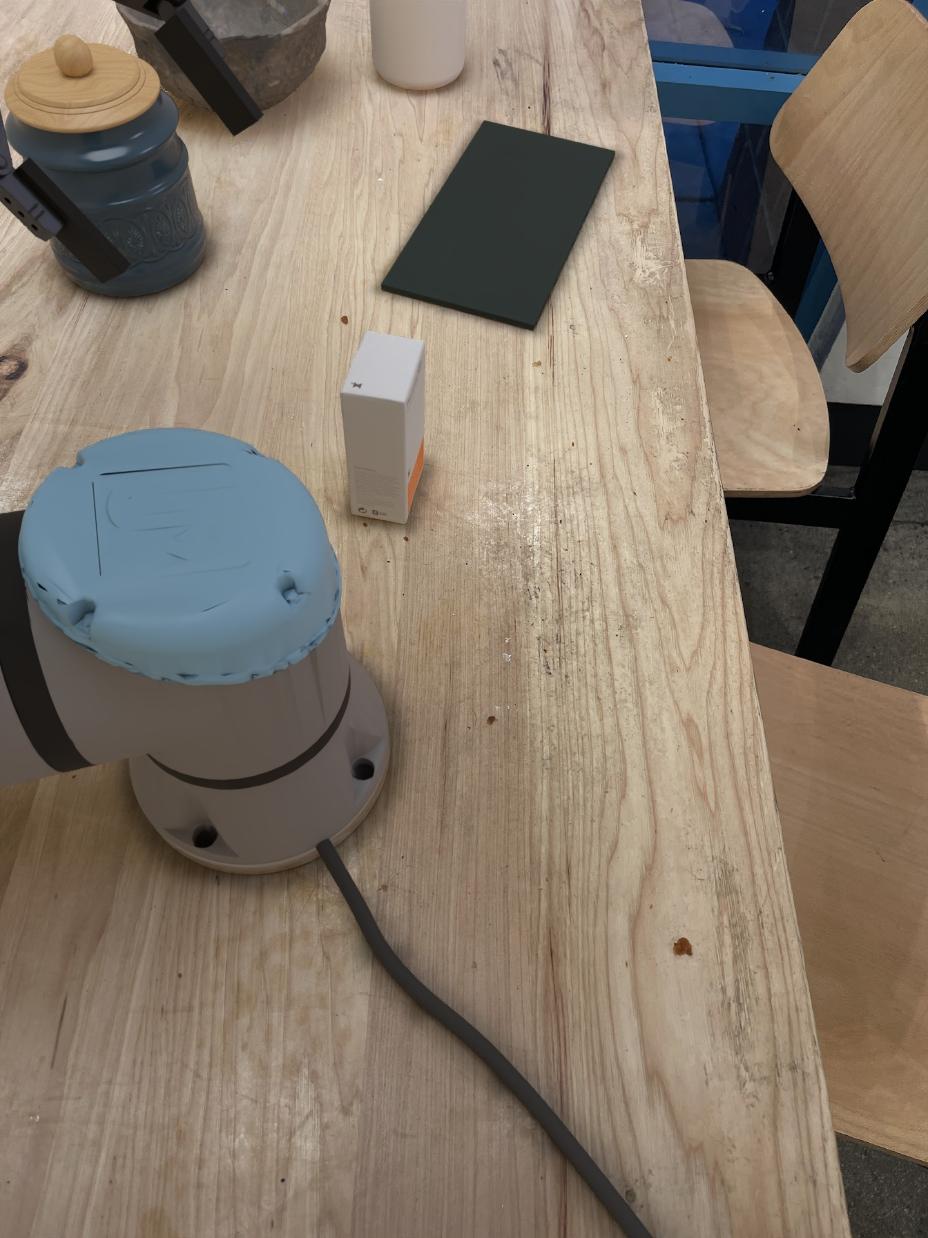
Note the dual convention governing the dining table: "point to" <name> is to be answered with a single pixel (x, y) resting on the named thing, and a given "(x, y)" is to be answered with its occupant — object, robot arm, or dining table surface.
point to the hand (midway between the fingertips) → (186, 196)
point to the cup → (418, 41)
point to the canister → (110, 159)
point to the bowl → (244, 45)
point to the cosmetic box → (384, 425)
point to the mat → (502, 225)
